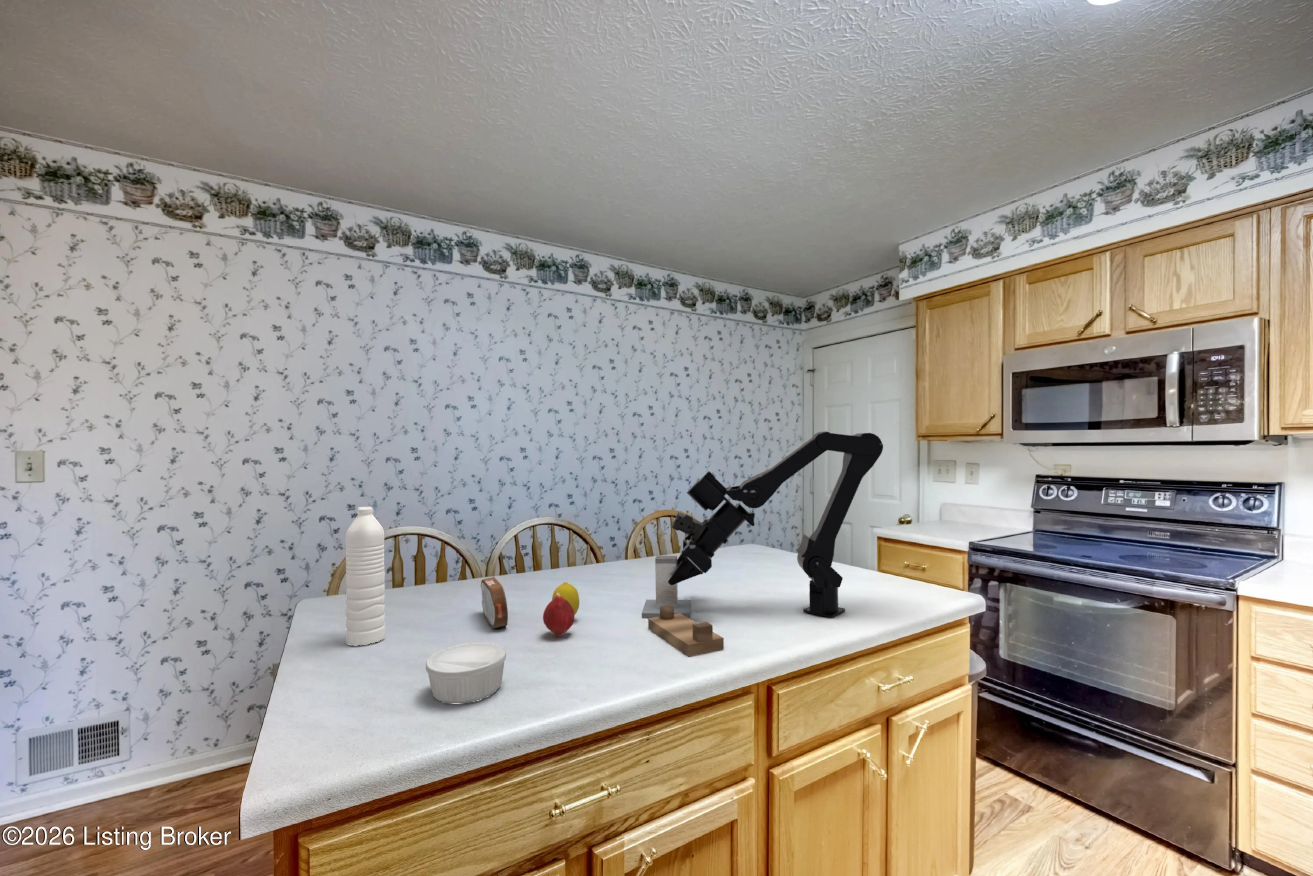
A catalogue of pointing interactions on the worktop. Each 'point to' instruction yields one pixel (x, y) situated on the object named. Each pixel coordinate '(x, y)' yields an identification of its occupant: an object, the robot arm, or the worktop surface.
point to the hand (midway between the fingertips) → (670, 578)
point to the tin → (494, 602)
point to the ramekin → (466, 672)
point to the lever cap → (665, 581)
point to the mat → (652, 611)
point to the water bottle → (365, 579)
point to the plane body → (685, 632)
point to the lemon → (568, 595)
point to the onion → (558, 615)
